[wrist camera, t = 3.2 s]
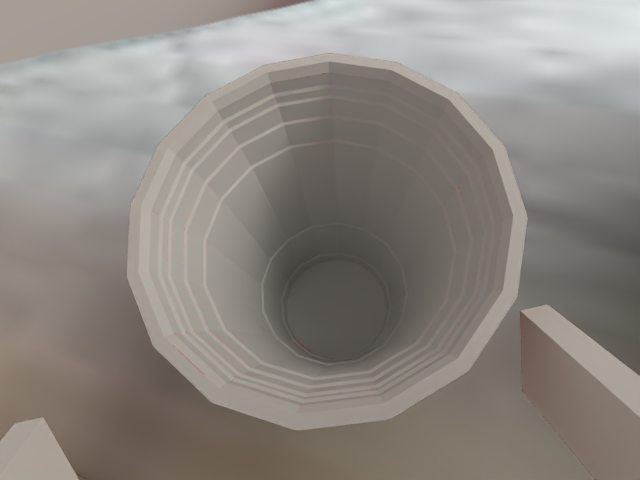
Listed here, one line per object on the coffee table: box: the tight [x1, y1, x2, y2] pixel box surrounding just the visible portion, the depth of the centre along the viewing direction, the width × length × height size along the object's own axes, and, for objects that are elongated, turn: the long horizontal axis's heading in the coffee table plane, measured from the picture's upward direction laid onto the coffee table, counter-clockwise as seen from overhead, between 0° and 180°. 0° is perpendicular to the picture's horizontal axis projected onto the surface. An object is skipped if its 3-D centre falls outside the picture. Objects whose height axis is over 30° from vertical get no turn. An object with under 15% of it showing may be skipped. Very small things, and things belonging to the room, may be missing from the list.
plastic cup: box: [126, 53, 528, 431], centre depth 16 cm, size 11×11×12 cm
